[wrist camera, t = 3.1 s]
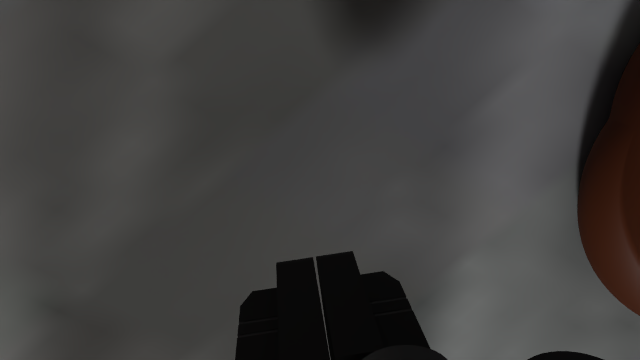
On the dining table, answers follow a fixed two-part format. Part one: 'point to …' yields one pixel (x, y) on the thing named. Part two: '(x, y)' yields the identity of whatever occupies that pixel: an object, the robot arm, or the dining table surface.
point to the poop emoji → (615, 194)
